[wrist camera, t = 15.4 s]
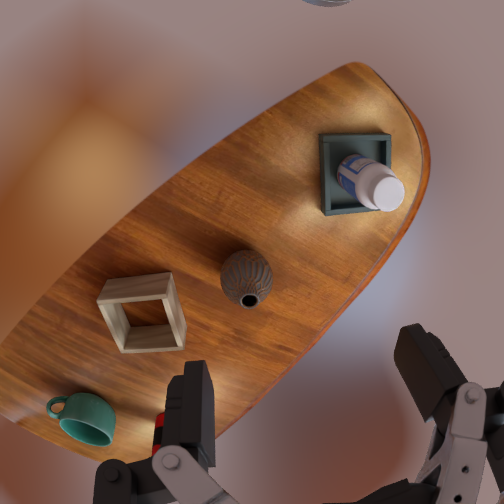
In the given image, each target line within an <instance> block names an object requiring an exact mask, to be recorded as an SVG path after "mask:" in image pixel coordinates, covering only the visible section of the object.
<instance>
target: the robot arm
mask: <svg viewBox="0 0 504 504" xmlns="http://www.w3.org/2000/svg"><path fill="white" fill-rule="evenodd" d="M394 361H395V364H396V366H397V368H398V370H399V372H400V374H401V376H402V378H403V380H404V381H405V383H406V385H407V387H408V389H409V391H410V393H411V395H412V397H413V399H414V401H415V403H416V405H417V407H418V409H419V411H420V413H421V415H422V417H423V419H424V422H425V423H426V422H429V421H431V420H434V421H435V423H436V425H435V426H434V430H433V434H432V438H431V441H430V445H429V448H428V452H427V455H426V459H425V462H424V464H423V466H422V468H421V470H420V472H419V473H418V475H417V478H416V480H415V483H409V482H408V479H407V478H406V479H404V480H401V481H398V482H396V483H393V484H390V485H387V486H384V487H382V488H380V489H378V490H377V491H375V492H373V493H371V494H370V495H368V496H366V497H364V498H363V499H361V500H359V501H357V502H353V503H323V504H476V501H477V496H478V493H479V489H480V484H481V480H482V475H483V470H484V465H485V459H486V457H487V459H488V462H489V464H490V467H491V469H492V472H493V474H494V477H495V479H496V482H497V485H498V488H499V491H500V493H501V495H500V497H499V501H498V503H497V504H504V381H503V383H502V384H501V386H500V387H496V388H488V389H483V388H482V387H481V386H480V385H478V384H476V383H473V382H468V381H467V379H466V378H465V376H464V375H463V373H462V372H461V370H460V368H459V367H458V365H457V364H456V363H455V361H454V359H453V358H452V357H451V356H450V354H449V352H448V351H447V349H445V346H444V345H443V344H442V342H441V341H440V339H438V338H437V337H436V336H434V335H433V334H432V333H430V332H428V333H426V332H425V330H424V329H423V327H422V326H421V325H420V324H419V323H416V324H412V325H408V326H405V327H402V328H401V329H400V333H399V336H398V340H397V343H396V347H395V350H394ZM166 399H167V400H166V404H165V413H164V422H163V431H162V441H161V445H160V447H159V449H158V451H157V452H156V453H155V454H154V455H153V456H151V457H149V458H147V459H145V460H141V461H137V462H133V463H128V464H126V463H124V462H123V461H121V460H117V459H110V460H107V461H104V462H103V463H102V464H100V466H99V467H98V469H97V471H96V476H95V485H94V497H93V504H167V503H171V502H175V501H178V502H179V503H180V504H240V503H238V502H237V501H236V500H235V499H234V498H233V497H232V496H231V495H230V494H229V493H227V492H226V491H225V490H224V489H223V488H221V487H220V486H219V485H218V484H217V482H216V481H214V479H213V478H212V477H211V476H209V474H208V467H216V465H215V416H214V389H213V384H212V380H211V377H210V374H209V371H208V368H207V365H206V362H205V360H199V361H186V362H185V367H184V375H176V376H174V377H173V378H172V380H171V382H170V383H169V385H168V388H167V396H166Z"/></svg>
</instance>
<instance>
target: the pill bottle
mask: <svg viewBox="0 0 504 504" xmlns="http://www.w3.org/2000/svg"><path fill="white" fill-rule="evenodd" d="M337 179H338V182H339V184H340V186H341V187H342V188H343V189H344V190H345V191H346V192H348V193H349V194H350V195H351V196H353V197H354V198H355V199H356V200H358V201H359V202H360V203H362V204H363V205H364V206H366V207H368V208H370V209H380V210H382V211H385V212H389V211H393V210H395V209H396V208H397V207H399V205H400V204H401V203H402V201H403V198H404V186H403V184H402V182H401V181H400V180H399V179H398V178H396V176H395V174H394V172H393V171H392V170H391V169H390V168H388V167H387V166H385V165H383V164H381V163H379V162H376V161H374V160H372V159H369V158H367V157H365V156H362V155H358V154H354V155H350V156H348V157H346V158H345V159H344V160H343V161H342V162H341V163H340V165H339V167H338V171H337Z"/></svg>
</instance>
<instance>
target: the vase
mask: <svg viewBox="0 0 504 504" xmlns="http://www.w3.org/2000/svg"><path fill="white" fill-rule="evenodd" d="M220 280H221V286H222V289H223V291H224V293H225V295H226V296H227V297H228V298H229V299H230V300H231V301H232V302H233V303H235V304H237V305H240V306H242V307H243V308H246V309H252V308H255V307H256V306H257V305H258V304H259V303H261V302H262V301H263V300H264V299H265V298H266V297H267V296H268V294H269V293H270V290H271V288H272V283H273V275H272V270H271V267H270V265H269V263H268V262H267V260H266V259H265V258H264V257H263V256H262V255H261V254H259V253H257V252H255V251H252V250H240V251H237V252H235V253H233V254H232V255H230V256H229V257H228V258H227V259H226V261H225V262H224V264H223V266H222V269H221V276H220Z"/></svg>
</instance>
